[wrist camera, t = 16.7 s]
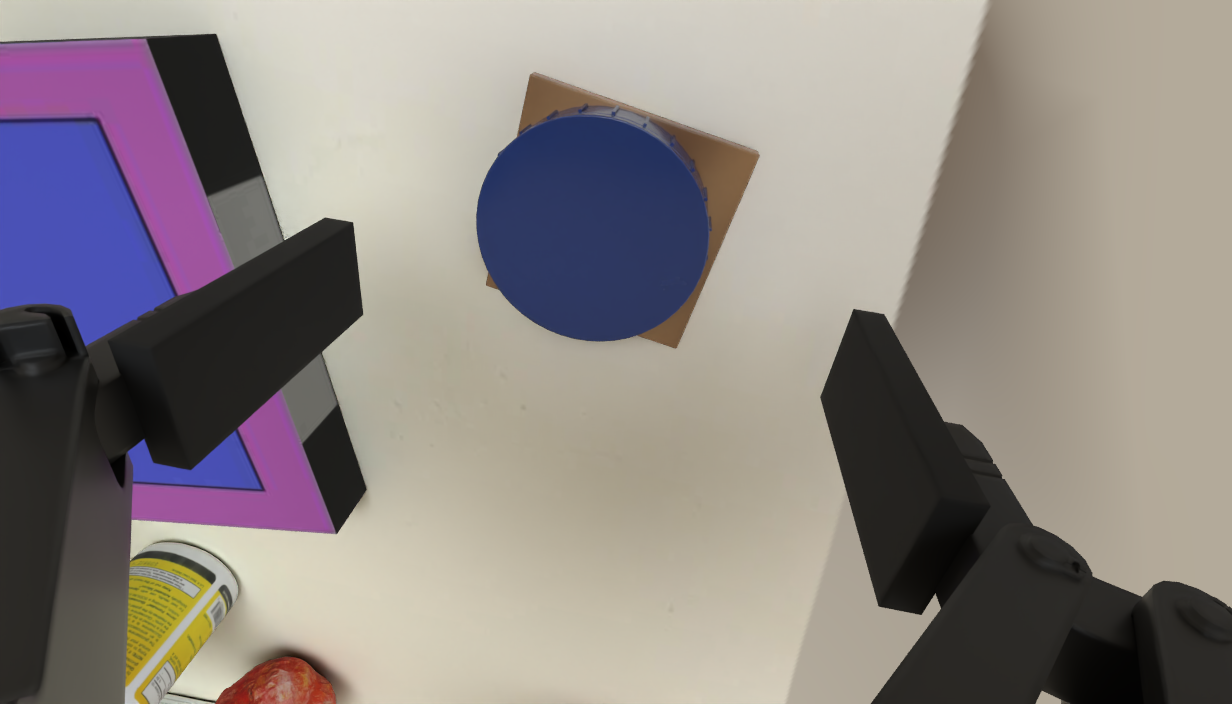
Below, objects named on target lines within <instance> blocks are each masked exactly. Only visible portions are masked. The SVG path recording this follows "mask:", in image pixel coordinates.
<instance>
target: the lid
mask: <svg viewBox="0 0 1232 704" xmlns="http://www.w3.org/2000/svg"><path fill="white" fill-rule="evenodd" d="M649 119H650V117H648V116H647V117H646V118H645V117H643V116H641V115H638V114H636V113H634V112H631V111H627V110H624V109H620V106H618V105H617V106H616V107H609V106H588V103H585V104H584V105H583V106H580V107H573V108H569V109H566V110H562V111H559V112H558V110H554V111H553V112H552V113H551V114H549V115H548V116H547V117H545V118H543V119H542V120H540V121H539V122H537V123H536V124H534V125H533V126H532V125H531V124H529V125H528V126H527V127H525V128H524V129H523V130H521V131H520V132H519V134H520V135H519V136H518V137H517V138H516V139H514V140H513V141H512V142H511V143H510V144H509V145H508V146H507V147H506V148H505V149H503V150H502V151H501V152H499V153H498V157H497V158H496V160H495V161H494V163H493V165H492V166H491V168H490V169H489V171H488V173H487V175H486V178H485V180H484V182H483V185H482V188H481V192H480V195H479V199H478V206H477V214H476V225H477V236H478V243H479V247H480V251H481V254H482V258H483V260H484V263H485V265H486V268H487V270H488V272H489V274H490V276H491V277H492V279H493V281H494V283H495V284H496V286H497V287H498V289H499V290H500V291H501V293H502V294H503V295H504V296H505V298H506V299H507V300H508V301H509V302H510V303H511V304H512V305H513V306H514V307H515V308H516V309H517V310H518V311H520V312H521V313H522V314H523V315H524V316H526V317H527V318H529V319H530V320H532V321H533V322H534V323H536V324H538V325H540V326H542V327H544V328H545V329H547V330H550V331H552V332H555V333H557V334H560V335H563V336H566V337H570V338H573V339H579V340H585V341H615V340H620V339H626V338H630V337H633V336H636V335H639V334H642V333H644V332H647V331H649V330H651V329H653V328H655V327H657V326H658V325H660V324H661V323H663V322H665V321H666V320H667V319H669V318H670V317H671V316H672V315H673V314H675V313H676V312H677V311H678V310H679V309H680V308H681V307H682V305H683V304H684V303H685V302H686V301H687V300H688V298H689V297H690V295H691V294H692V293H693V291H694V290H695V288H696V286H697V284H698V282H699V280H700V278H701V275H702V273H703V270H704V267H705V264H706V261H707V260H708V250H709V236H710V233H709V231H712V225H711V216H709V215H708V202H707V201H708V194H707V187H705V188H704V186H703V183H702V180H701V177H700V174H699V172H698V170H697V169H696V167H695V160H694V159H693V160H692V159H691V158H690V157H689V155H688V154H687V152H686V151H685V149H684V148H683V147H682V146H681V145H680V144H679V143H678V142H677V141H676V136H675V135H673V136H671V135H670V134H669V133H668V132H667V131H665V130H664V129H663V128H662V127H660V126H659V125H657V124H656V123H654V122H652V121H651V120H649Z"/></svg>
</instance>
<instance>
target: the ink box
mask: <svg viewBox="0 0 1232 704" xmlns="http://www.w3.org/2000/svg"><path fill="white" fill-rule="evenodd" d="M159 704H215V703H212V702H207V701H201V700H196V699H191V698H186V697H181V696H176V695H171V694H165V696H164V697H163V698H162V700H161V701H160V702H159Z"/></svg>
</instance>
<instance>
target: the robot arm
mask: <svg viewBox="0 0 1232 704" xmlns="http://www.w3.org/2000/svg"><path fill="white" fill-rule="evenodd" d="M362 315H363V308H362V299H361V290H360V281H359V272H358V262H357V253H356V244H355V235H354V226H353V222H348V221H342V220H336V219H330V218H324V219H322V220H320V221H318V222H317V223H315V224H313V225H311V226H310V227H308V228H306V229H304V230H302V231H301V232H299V233H297V234H295V235H294V236H292V237H290V238H288V239H286V240H285V241H283V242H281V243H279V244H278V245H276V246H274V247H272V248H271V249H269V250H267V251H265V252H263V253H262V254H260V255H258V256H256V257H255V258H253V259H251V260H249V261H247V262H246V263H244V264H242V265H240V266H239V267H237V268H235V269H233V270H232V271H230V272H228V273H226V274H224V275H223V276H221V277H219V278H217V279H216V280H214V281H212V282H210V283H208V284H207V285H205V286H203V287H201V288H200V289H198V290H195V291H192V292H188V293H185V294H182V295H179V296H176V297H173V298H171V299H170V300H168V301H166V302H164V303H162V304H161V305H159V306H157V307H155V308H154V311H151V310H150V311H148V312H146V313H144V314H142V315H141V316H139V317H137V320H132V321H130V322H128V323H126V324H124V325H123V326H121V327H119V328H117V329H115V330H114V331H112V332H110V333H108V334H106V335H104V336H103V337H101V338H99V339H97V340H95V341H94V342H92V343H90V344H88V345H86V346H85V344H84V341H83V339H82V336H81V334H80V331H79V329H78V326H77V324H76V321H75V319H74V316H73V314H72V311H71V309H69V308H66V307H64V306H62V305H55V304H46V303H45V304H26V305H20V306H14V307H9V308H4V309H1V310H0V704H125V682H126V654H127V627H128V600H129V572H130V545H131V518H132V490H133V464H132V462H131V459H130V457H129V454H128V451H129V450H131V449H132V448H133V447H134V446H136V445H137V444H138V443H140V442H141V441H142V440H143V439H144V440H145V442H146V445H147V448H148V450H149V453H150V456H151V458H152V461H153V463H156V464H161V465H166V466H171V467H176V468H181V469H186V470H192V469H193V468H194V467H195V466H196V465H197V464H199V463H200V462H201V461H202V460H203V459H204V458H205V457H206V456H207V455H208V454H210V453H211V452H212V451H213V450H214V449H215V448H216V447H217V446H218V445H220V444H221V443H222V442H223V441H224V440H225V439H226V438H227V437H228V436H229V435H231V434H232V433H233V432H234V431H235V430H236V429H237V428H238V427H239V426H241V425H242V424H243V423H244V422H245V421H246V420H247V419H248V418H249V417H250V416H252V415H253V414H254V413H255V412H256V411H257V410H258V409H259V408H260V407H262V406H263V405H264V404H265V403H266V402H267V401H268V400H269V399H270V398H271V397H273V396H274V395H275V394H276V393H277V392H278V391H279V390H280V389H281V388H282V387H284V386H285V385H286V384H287V383H288V382H289V381H290V380H291V379H292V378H294V377H295V376H296V375H297V374H298V373H299V372H300V371H301V370H302V369H303V368H305V367H306V366H307V365H308V364H309V363H310V362H311V361H312V360H313V359H315V358H316V357H317V356H318V355H319V354H320V353H321V352H322V351H323V350H324V349H326V348H327V347H328V346H329V345H330V344H331V343H332V342H333V341H334V340H336V339H337V338H338V337H339V336H340V335H341V334H342V333H343V332H344V331H345V330H347V329H348V328H349V327H350V326H351V325H352V324H353V323H354V322H355V321H357V320H358V319H359V318H360V317H361V316H362ZM820 398H821V402H822V405H823V409H824V412H825V416H826V419H827V423H828V427H829V430H830V434H831V437H832V441H833V445H834V448H835V452H836V455H837V459H838V463H839V466H840V470H841V473H842V477H843V480H844V484H845V488H846V491H847V495H848V498H849V502H850V505H851V509H852V513H853V516H854V520H855V523H856V527H857V531H858V534H859V538H860V541H861V545H862V548H863V552H864V556H865V559H866V563H867V567H868V570H869V574H870V577H871V581H872V584H873V588H874V592H875V595H876V599H877V602H878V606H879V607H884V608H889V609H894V610H899V611H904V612H909V613H915V614H919V615H922V613H923V612H924V610H925V609H926V607H927V605H928V604H929V602H930V601H931V599H932V598H933V596H934V594H935V593H936V596H937V599H938V601H939V604H940V606H941V610H940V611H939V612H938V614H937V615H936V617H935V618H934V619H933V621H932V622H931V623H930V625H929V626H928V627H927V629H926V630H925V632H924V633H923V634H922V636H921V637H920V638H919V639H918V641H917V642H916V644H915V645H914V646H913V648H912V649H911V650H910V652H909V653H908V655H907V656H906V657H905V658H904V660H903V661H902V662H901V664H900V665H899V666H898V668H897V669H896V671H895V672H894V673H893V674H892V676H891V677H890V679H889V680H888V681H887V683H886V684H885V685H884V687H883V688H882V689H881V691H880V692H879V693H878V695H877V696H876V697H875V699H874V700H873V701H872V703H871V704H1035V703H1036V701H1037V699H1038V697H1039V695H1040V692H1041V691H1044V692H1046V693H1048V694H1050V695H1053V696H1055V697H1057V698H1059V699H1061V704H1232V608H1231V607H1228V606H1227V605H1226V604H1225V603H1223V602H1222V601H1220V600H1218V599H1217V598H1215V597H1212V596H1210V595H1209V594H1207V593H1205V592H1203V591H1201V590H1199V589H1197V588H1194V587H1191V586H1188V585H1185V584H1182V583H1180V582H1170V581H1162V582H1160V583H1157V584H1155V585H1153V587H1152V588H1151V589H1150V590H1149V591H1148V592H1147V593H1146V594H1145V595H1144V596H1143V597H1141V596H1138V595H1136V594H1134V593H1131V592H1129V591H1126V590H1124V589H1121V588H1119V587H1116V586H1114V585H1111V584H1109V583H1106V582H1104V581H1102V580H1099V579H1097V578H1095V577H1093V576H1092V572H1091V570H1090V568H1089V566H1088V565H1087V563H1086V561H1085V559H1084V558H1083V557H1082V556H1081V555H1080V554H1079V553H1078V552H1077V551H1076V550H1075V549H1074V548H1073V547H1072V546H1070V545H1069V544H1068V543H1066V542H1065V541H1063V540H1062V539H1060V538H1059V537H1057V536H1056V535H1054V534H1052V533H1050V532H1048V531H1046V530H1044V529H1042V528H1039V527H1036V526H1033V524H1032V523H1031V521H1030V520H1029V518H1028V516H1027V515H1026V513H1025V511H1024V510H1023V508H1022V507H1021V505H1020V503H1019V502H1018V500H1017V499H1016V497H1015V495H1014V494H1013V492H1012V490H1011V489H1010V487H1009V485H1008V484H1007V482H1006V481H1005V479H1002V474H1001V473H1000V471H999V469H998V468H997V466H996V464H993V460H992V458H991V456H990V455H989V453H988V451H987V450H986V448H985V447H984V445H983V443H982V442H981V441H980V440H979V439H977V438H976V437H975V436H974V435H973V434H972V433H971V432H969V431H968V430H967V429H966V428H965V427H964V426H963V425H959V424H953V423H948V422H944V421H943V419H942V417H941V416H940V414H939V412H938V410H937V408H936V407H935V405H934V403H933V401H932V399H931V398H930V396H929V394H928V392H927V390H926V389H925V387H924V385H923V383H922V381H921V380H920V378H919V376H918V374H917V373H916V371H915V369H914V367H913V365H912V364H911V362H910V360H909V358H908V356H907V354H906V353H905V351H904V349H903V347H902V346H901V344H900V342H899V340H898V338H897V337H896V335H895V333H894V331H893V329H892V327H891V326H890V324H889V322H888V320H887V318H886V317H885V315H884V314H879V313H874V312H868V311H862V310H856V309H853V312H852V315H851V317H850V320H849V323H848V325H847V328H846V331H845V333H844V336H843V338H842V341H841V344H840V346H839V349H838V352H837V354H836V357H835V360H834V362H833V365H832V368H831V370H830V373H829V375H828V378H827V381H826V383H825V386H824V389H823V391H822V394H821V397H820Z"/></svg>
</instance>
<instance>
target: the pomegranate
mask: <svg viewBox="0 0 1232 704" xmlns="http://www.w3.org/2000/svg"><path fill="white" fill-rule="evenodd" d="M215 704H336V697H335V693H334V691H333V688H332V685H331V683H330V682H329V681H327V679H326V678H325V677H323V676H322V675H320V674H318V673H317V672H316V671H314V669H313V668H312V667H311V666H310V665H309V664H308V663H307V662H305V661H304V660H302V659H299V658H295V657H281V658H277V659H273V660H268V661H266V662H264V663H262V664H259V665H257V666H255V667H254V668H253V669H252V670H251V671H249V672H247V673H246V674H245V675H244V676H243V677H242V678H241V679H240V680H238V681H237V682H236V683H234V684H233V685H232V686H231V687H229V688H226V689H225V690H224V691H223V692H222V693H221V695H220V696H219V698H218V699H217V701H216V703H215Z"/></svg>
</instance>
